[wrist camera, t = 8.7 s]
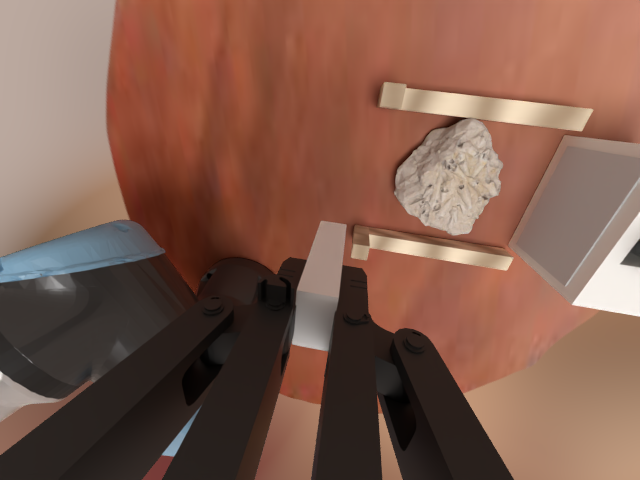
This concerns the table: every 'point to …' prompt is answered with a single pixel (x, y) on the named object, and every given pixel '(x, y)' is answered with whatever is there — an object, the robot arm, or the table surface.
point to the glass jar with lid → (636, 248)
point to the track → (465, 108)
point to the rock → (450, 177)
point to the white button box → (587, 224)
